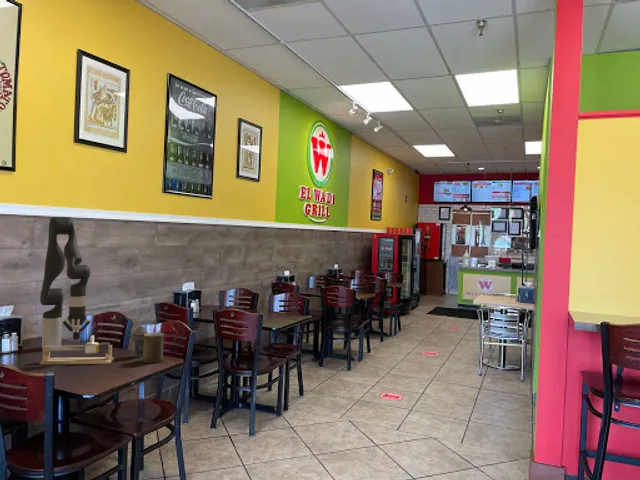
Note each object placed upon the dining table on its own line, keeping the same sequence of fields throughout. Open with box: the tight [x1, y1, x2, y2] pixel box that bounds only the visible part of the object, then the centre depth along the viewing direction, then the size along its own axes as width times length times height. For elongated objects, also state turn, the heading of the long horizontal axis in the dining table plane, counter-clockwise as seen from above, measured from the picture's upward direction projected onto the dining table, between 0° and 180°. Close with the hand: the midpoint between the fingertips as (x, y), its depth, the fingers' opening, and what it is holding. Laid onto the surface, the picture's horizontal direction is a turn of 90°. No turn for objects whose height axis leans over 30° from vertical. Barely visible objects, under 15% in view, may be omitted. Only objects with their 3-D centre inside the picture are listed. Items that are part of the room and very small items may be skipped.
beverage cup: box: [133, 318, 148, 358], centre depth 258 cm, size 7×7×20 cm
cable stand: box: [39, 341, 114, 365], centre depth 243 cm, size 8×32×9 cm, turn 101°
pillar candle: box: [142, 332, 164, 364], centre depth 249 cm, size 10×10×15 cm
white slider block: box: [84, 335, 100, 354], centre depth 244 cm, size 5×5×8 cm
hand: (76, 339), depth 243 cm, fingers closed
